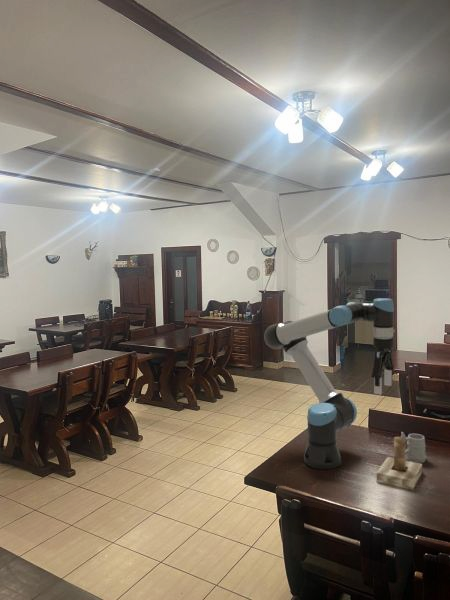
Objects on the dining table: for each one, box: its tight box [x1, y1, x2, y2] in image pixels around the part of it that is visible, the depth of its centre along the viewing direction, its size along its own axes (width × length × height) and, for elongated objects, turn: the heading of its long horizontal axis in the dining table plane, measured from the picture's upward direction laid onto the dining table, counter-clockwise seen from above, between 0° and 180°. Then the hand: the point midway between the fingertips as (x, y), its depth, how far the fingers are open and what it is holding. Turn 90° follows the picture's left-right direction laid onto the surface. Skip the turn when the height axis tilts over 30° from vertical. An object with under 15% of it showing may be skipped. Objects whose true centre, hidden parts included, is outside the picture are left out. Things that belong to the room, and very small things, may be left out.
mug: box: [400, 431, 427, 464], centre depth 188 cm, size 8×12×12 cm, turn 95°
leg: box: [393, 436, 406, 472], centre depth 173 cm, size 4×4×14 cm
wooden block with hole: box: [376, 456, 423, 491], centre depth 174 cm, size 13×16×4 cm
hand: (383, 389), depth 182 cm, fingers open, 13 cm apart
